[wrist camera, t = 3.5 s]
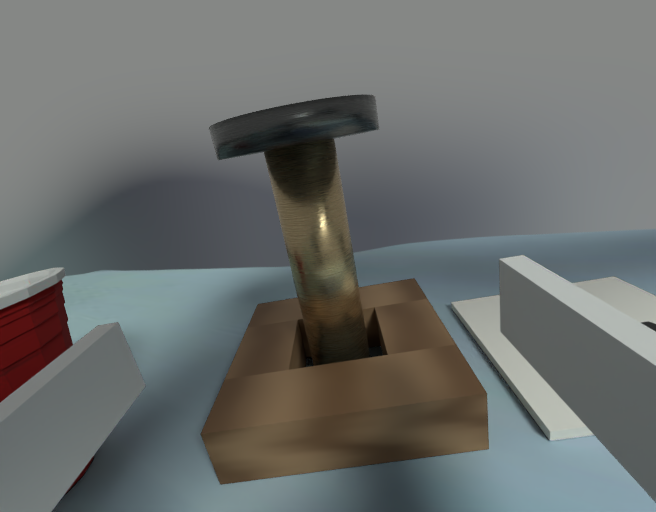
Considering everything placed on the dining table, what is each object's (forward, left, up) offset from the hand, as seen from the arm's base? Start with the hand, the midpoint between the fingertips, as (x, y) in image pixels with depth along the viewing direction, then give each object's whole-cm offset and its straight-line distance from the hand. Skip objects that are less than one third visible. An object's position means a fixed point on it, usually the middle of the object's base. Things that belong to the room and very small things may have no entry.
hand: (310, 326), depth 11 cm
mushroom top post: (0, -10, -10) cm, 14 cm away
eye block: (0, -10, -10) cm, 14 cm away
